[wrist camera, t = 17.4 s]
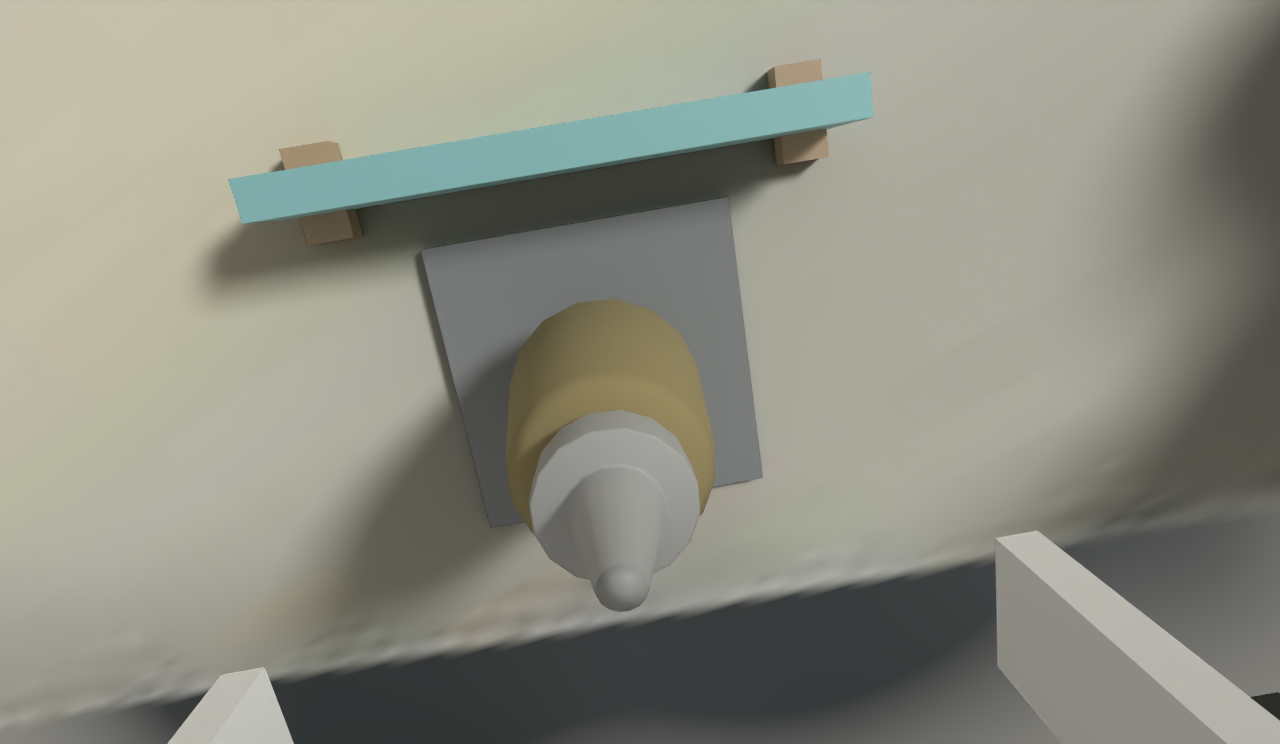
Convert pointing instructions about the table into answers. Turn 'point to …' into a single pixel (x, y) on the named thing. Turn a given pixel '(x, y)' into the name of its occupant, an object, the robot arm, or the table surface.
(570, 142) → the fence
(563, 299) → the mat
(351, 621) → the table surface
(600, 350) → the squeeze bottle
